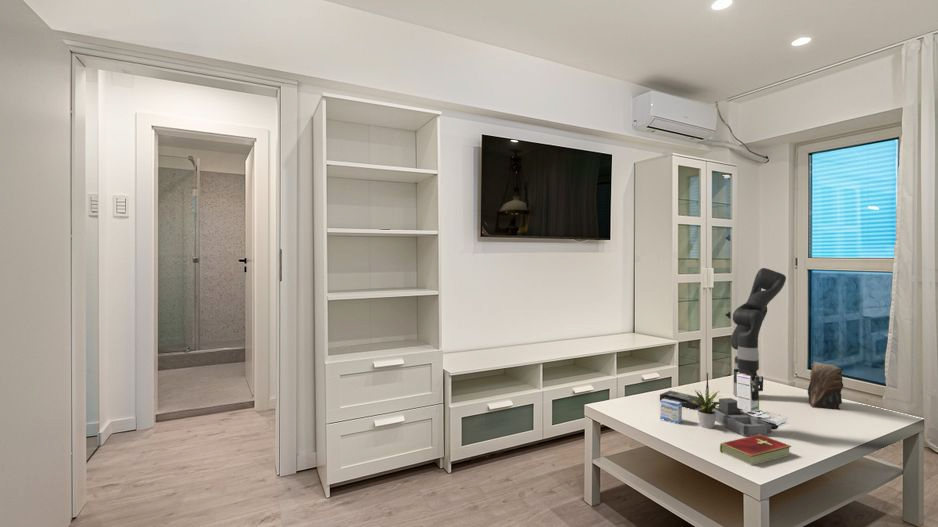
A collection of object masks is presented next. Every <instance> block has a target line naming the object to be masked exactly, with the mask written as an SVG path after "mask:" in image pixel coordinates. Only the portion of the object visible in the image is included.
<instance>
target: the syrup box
mask: <svg viewBox="0 0 938 527" xmlns="http://www.w3.org/2000/svg"><path fill="white" fill-rule="evenodd" d="M757 376H759V375H758V374H757ZM750 383H755V381H752V379H751V376H749V375H746V374H737V397H736V401H737V408H739V409H742V410H741V411H744V412H745V411H746V412H750V413H752V412H754V411H756V410H760V391H759V392H758V400H757V401H753V400H752V389H751V385H750ZM754 388H755V386H754Z"/></svg>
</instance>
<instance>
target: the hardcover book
mask: <svg viewBox="0 0 938 527" xmlns="http://www.w3.org/2000/svg"><path fill="white" fill-rule="evenodd" d="M790 448H792V445H789V444H787V443H784V442H781V441H779V440H776V439H773V438H771V437H768V436H766V435H760V434H759V435H755V436H745V437H743V438H738V439H734V440H729V441H725V442H720V445H719V452H721V453H720V454H724V455H726V456H728V457H731V458H732V459H736V460H738V461H740V462H743V463H744V464H747V465H749V466H754V465H758V464H762V463H766V462H770V461H774V460H777V459H780V458H784V457H787V456H790Z"/></svg>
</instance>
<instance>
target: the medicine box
mask: <svg viewBox="0 0 938 527" xmlns="http://www.w3.org/2000/svg"><path fill="white" fill-rule="evenodd" d="M659 402H660V403H659V405H660V406H659V409H660V410H659V413H660V414H659V418H660V419H659V420H661V419H664V420H667V421H666V422H668V421H671V422H670V423H672V422H675V423H674V424H677V423H679V424H680V423H682V422H683V417H682V416H683V412H682V411H683V407H682V402H678V401H673V400H668V399H662V400H661V401H660V400H659Z"/></svg>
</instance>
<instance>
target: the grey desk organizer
mask: <svg viewBox="0 0 938 527" xmlns="http://www.w3.org/2000/svg"><path fill="white" fill-rule="evenodd" d="M718 402H719V403H721V404H718V406H719V407H721V408H722V410H721V409H720V408H718V407H717V408H718V410H717V409H713V411H715V412H716V418H715V422H717V423H719V424H720V423H721V424H720V425H721V426H725V427H726V428H728V429H730V430H731V431H733V432H735V433H737V434H739V435H740V436H743V437H750V436H755V435H759V434H760V435H763V436H772V424H770V423H768V422H766V421H764V420H763V419H761V418H756V417H753V416H751V415H752V414H750V413H747V412H745V411H744V410H740V409H739V408H737V399H734V398H732V397H729V398H728V397H726V398H722V397H721V398H718Z"/></svg>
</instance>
